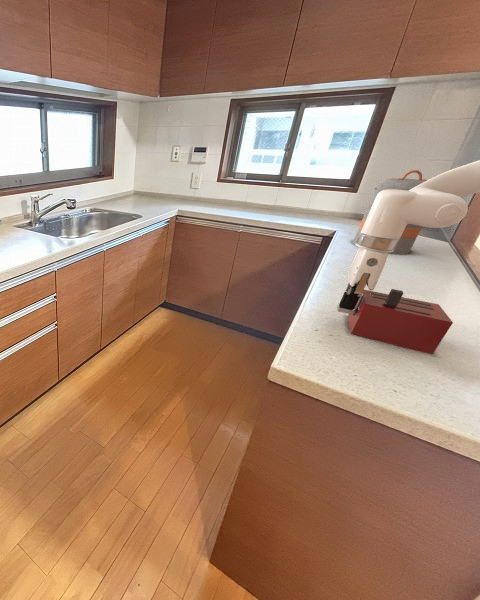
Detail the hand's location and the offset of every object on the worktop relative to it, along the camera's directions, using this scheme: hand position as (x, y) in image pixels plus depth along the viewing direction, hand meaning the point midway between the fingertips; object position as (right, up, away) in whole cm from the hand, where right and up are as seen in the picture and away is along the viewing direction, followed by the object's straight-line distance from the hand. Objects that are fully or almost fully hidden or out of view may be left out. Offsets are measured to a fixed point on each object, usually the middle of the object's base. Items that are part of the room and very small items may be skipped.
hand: (346, 307), depth 89 cm
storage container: (+74, +28, +70) cm, 106 cm away
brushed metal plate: (0, -1, +1) cm, 1 cm away
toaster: (+8, -7, -3) cm, 11 cm away
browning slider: (+4, +1, -8) cm, 9 cm away
